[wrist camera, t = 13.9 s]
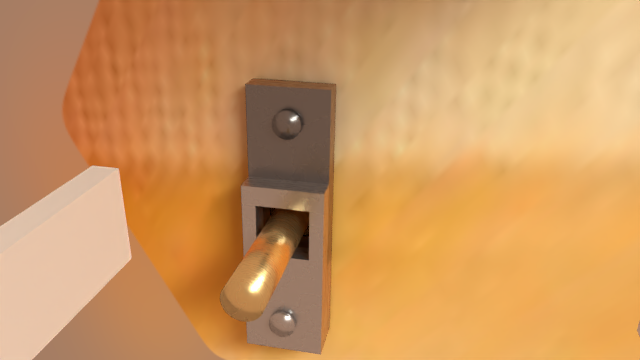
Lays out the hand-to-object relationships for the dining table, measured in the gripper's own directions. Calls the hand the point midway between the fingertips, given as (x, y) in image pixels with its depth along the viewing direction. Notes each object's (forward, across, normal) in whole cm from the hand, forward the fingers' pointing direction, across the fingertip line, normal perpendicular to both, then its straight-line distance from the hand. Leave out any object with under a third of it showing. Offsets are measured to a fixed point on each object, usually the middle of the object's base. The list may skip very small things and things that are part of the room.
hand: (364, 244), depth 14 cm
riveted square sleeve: (+32, -11, -17) cm, 38 cm away
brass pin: (+32, -11, -17) cm, 38 cm away
